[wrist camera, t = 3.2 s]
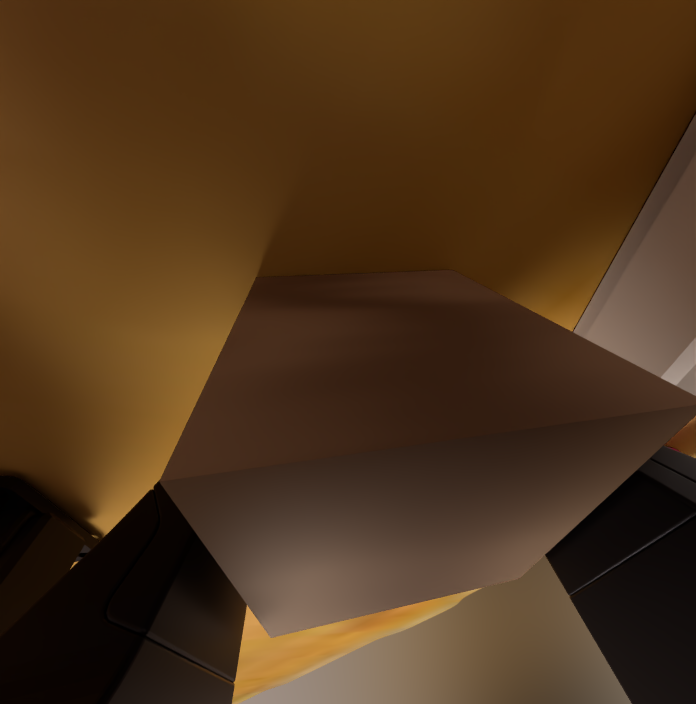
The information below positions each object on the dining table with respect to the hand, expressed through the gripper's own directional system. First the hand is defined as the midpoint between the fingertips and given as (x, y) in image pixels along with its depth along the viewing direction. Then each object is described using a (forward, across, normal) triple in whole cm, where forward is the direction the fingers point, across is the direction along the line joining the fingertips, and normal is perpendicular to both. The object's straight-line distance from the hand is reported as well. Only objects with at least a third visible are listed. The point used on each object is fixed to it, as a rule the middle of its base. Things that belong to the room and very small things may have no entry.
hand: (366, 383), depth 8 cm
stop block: (+2, 0, 0) cm, 2 cm away
